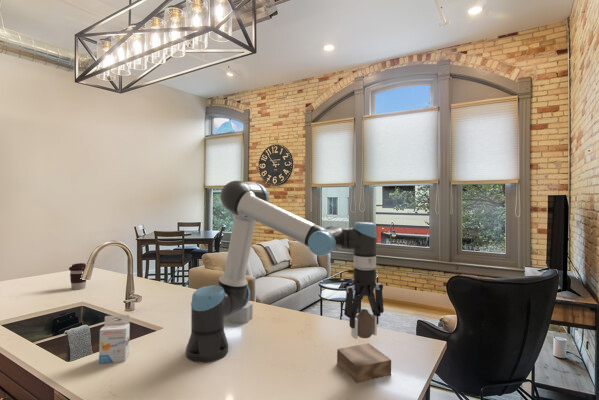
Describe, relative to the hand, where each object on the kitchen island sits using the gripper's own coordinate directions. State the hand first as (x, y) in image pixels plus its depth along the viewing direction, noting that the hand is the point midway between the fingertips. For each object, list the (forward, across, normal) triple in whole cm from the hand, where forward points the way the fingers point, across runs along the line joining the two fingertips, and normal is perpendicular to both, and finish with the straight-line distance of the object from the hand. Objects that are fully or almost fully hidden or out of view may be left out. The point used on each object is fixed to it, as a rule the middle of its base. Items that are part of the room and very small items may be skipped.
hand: (363, 335), depth 110 cm
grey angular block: (+11, -31, +60) cm, 69 cm away
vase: (0, 0, 0) cm, 0 cm away
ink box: (+11, -79, +36) cm, 88 cm away
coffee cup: (+11, -113, +143) cm, 183 cm away
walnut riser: (+11, 0, 0) cm, 11 cm away
